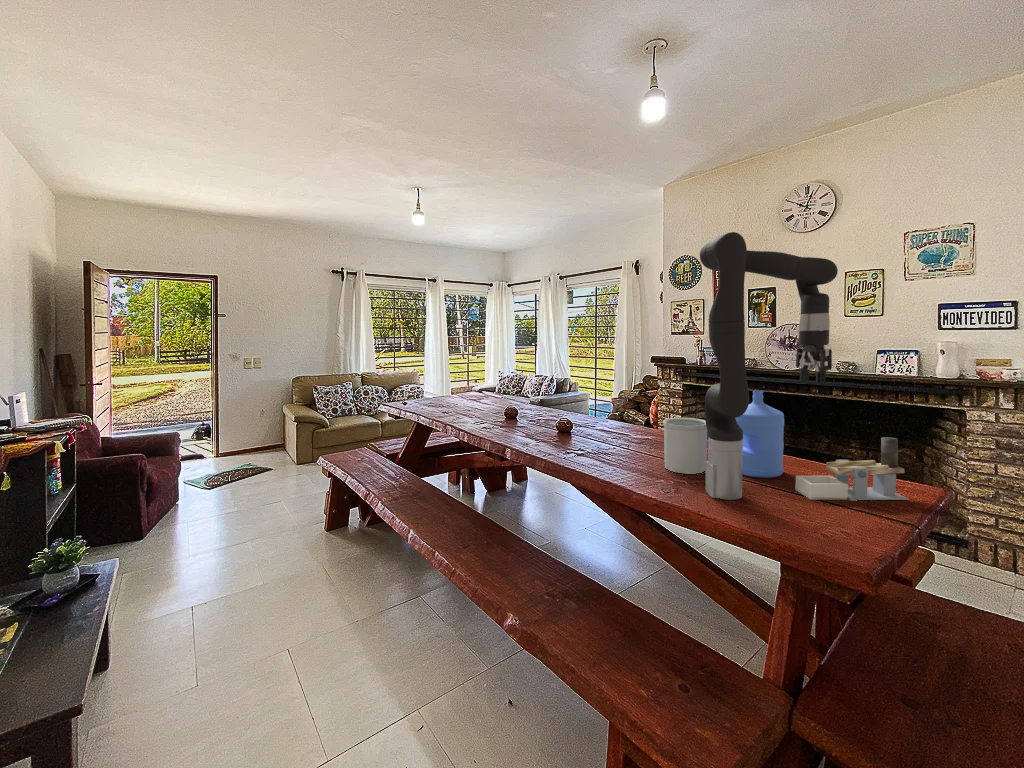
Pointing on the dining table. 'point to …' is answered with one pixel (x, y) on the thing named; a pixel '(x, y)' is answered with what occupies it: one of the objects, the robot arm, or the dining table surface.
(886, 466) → the lever
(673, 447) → the utensil holder
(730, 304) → the robot arm
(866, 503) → the dining table surface
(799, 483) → the gray open tray
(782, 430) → the water jug
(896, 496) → the stand
